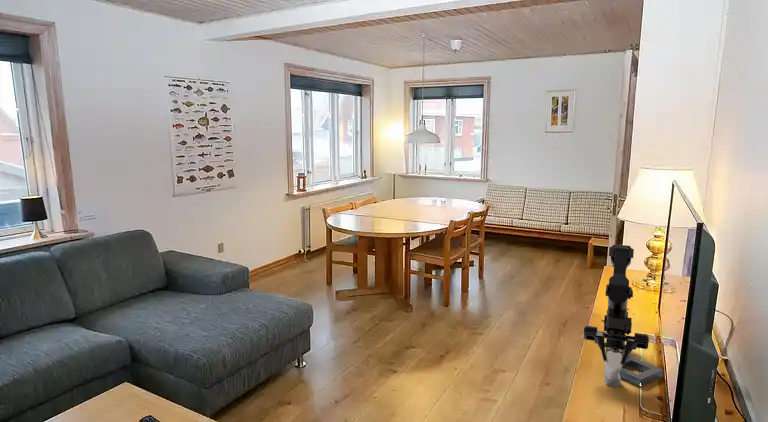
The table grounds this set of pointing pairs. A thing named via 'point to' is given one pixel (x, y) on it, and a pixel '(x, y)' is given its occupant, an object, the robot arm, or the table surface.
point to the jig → (645, 377)
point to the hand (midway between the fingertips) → (613, 362)
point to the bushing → (613, 367)
